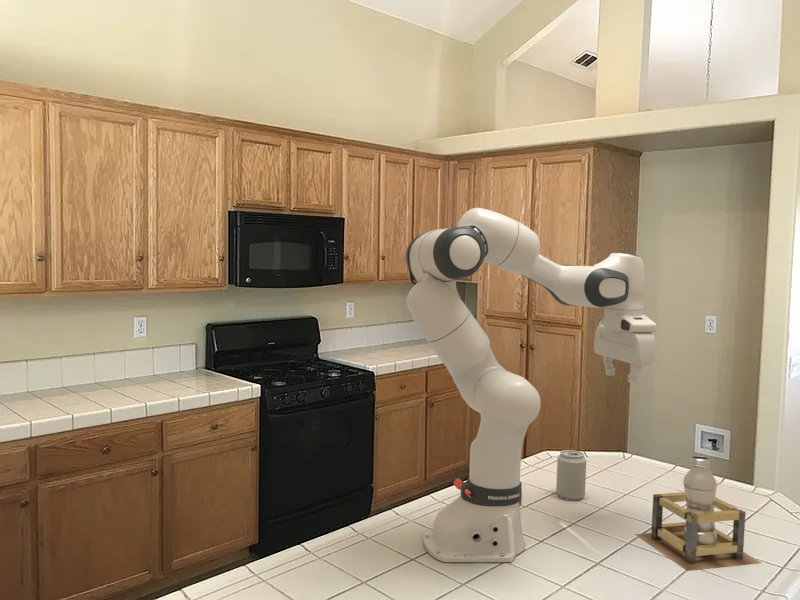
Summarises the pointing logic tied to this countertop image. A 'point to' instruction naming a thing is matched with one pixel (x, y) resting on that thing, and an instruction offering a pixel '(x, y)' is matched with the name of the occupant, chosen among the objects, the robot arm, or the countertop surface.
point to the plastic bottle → (701, 497)
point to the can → (571, 475)
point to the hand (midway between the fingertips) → (620, 378)
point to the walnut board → (701, 561)
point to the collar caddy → (693, 519)
